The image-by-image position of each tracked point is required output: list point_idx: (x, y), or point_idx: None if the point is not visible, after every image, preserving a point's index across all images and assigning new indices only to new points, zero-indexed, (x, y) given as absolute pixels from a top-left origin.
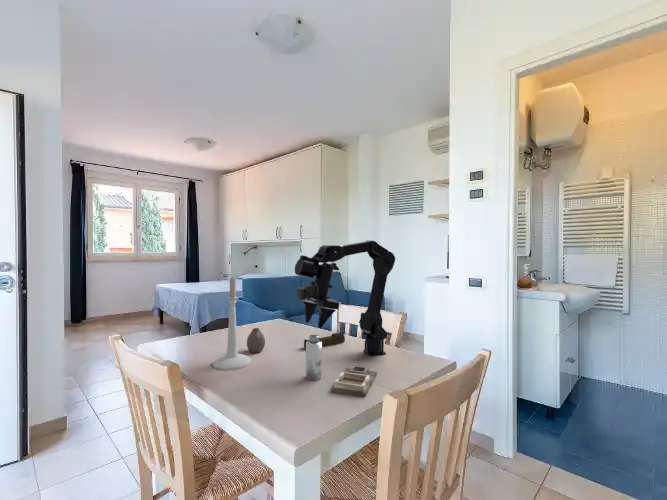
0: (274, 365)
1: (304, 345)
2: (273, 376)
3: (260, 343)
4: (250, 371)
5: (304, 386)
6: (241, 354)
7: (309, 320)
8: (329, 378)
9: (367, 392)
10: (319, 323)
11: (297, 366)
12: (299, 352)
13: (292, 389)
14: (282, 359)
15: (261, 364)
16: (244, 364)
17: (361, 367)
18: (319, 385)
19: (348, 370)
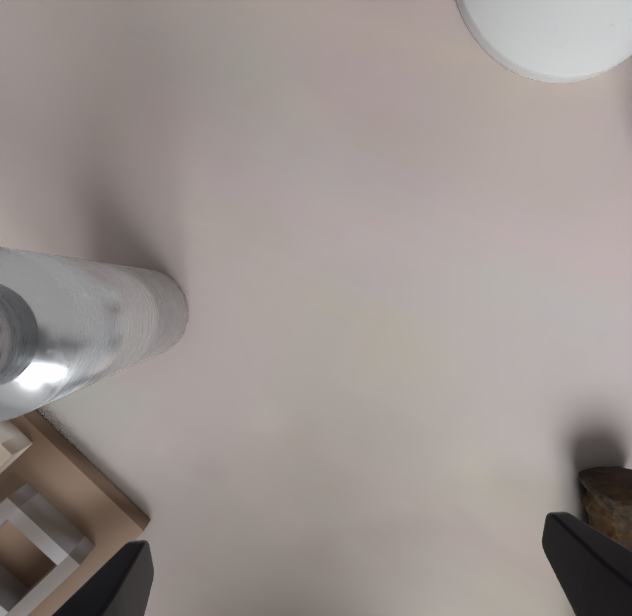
0: (410, 184)
1: (630, 472)
2: (254, 120)
3: None
4: (382, 28)
5: (53, 218)
6: (609, 5)
7: (562, 583)
8: None
9: None
10: (66, 604)
11: (335, 297)
12: (554, 403)
13: (45, 148)
14: (484, 262)
15: (460, 121)
16: (472, 7)
17: (28, 593)
18: None
19: (98, 517)
